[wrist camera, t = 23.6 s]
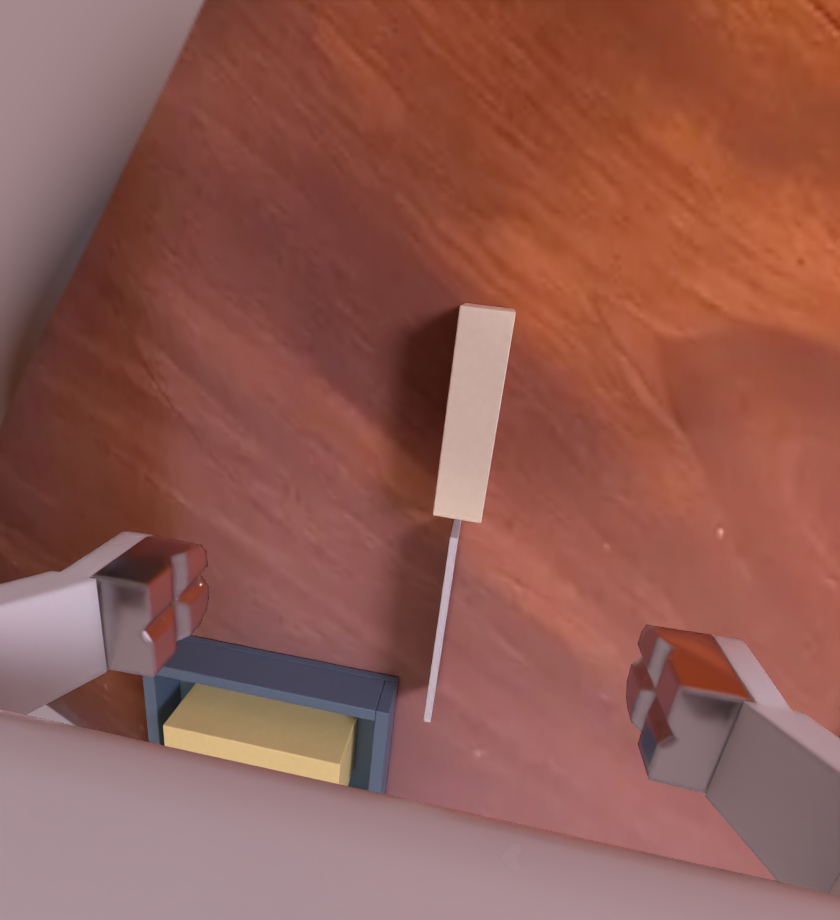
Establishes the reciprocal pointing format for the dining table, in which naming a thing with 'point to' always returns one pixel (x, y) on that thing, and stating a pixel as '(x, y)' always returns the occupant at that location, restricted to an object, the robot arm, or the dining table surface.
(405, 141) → the dining table surface
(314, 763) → the butter
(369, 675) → the butter dish
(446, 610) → the butter knife
